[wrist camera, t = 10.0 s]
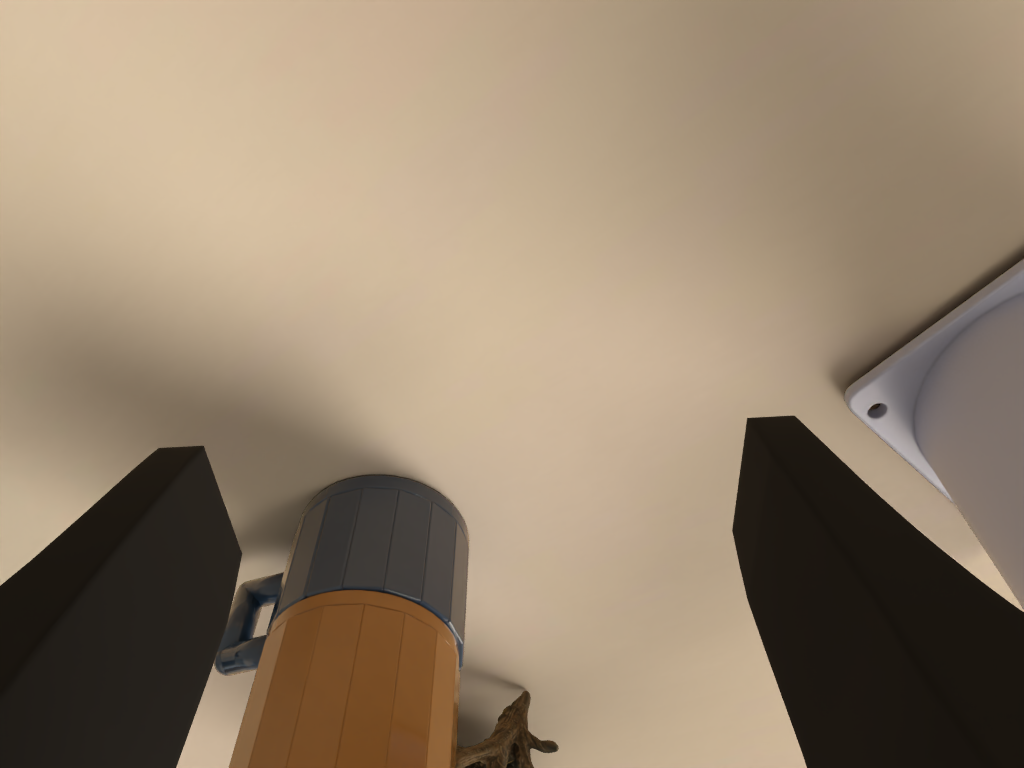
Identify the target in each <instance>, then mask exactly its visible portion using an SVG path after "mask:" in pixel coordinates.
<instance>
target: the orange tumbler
mask: <svg viewBox="0 0 1024 768" xmlns="http://www.w3.org/2000/svg"><path fill="white" fill-rule="evenodd" d="M459 660H460V658H459V648H458V645H457V642H456V640H455V638H454V635H453V634H452V632H451V631H450V629H449V628H448V626H447V625H446V624H445V623H444V622H443V621H442V620H441V619H440V618H439V617H437V616H436V615H435V614H434V613H432V612H431V611H429V610H428V609H426V608H424V607H423V606H421V605H419V604H417V603H415V602H412V601H410V600H407V599H405V598H402V597H399V596H395V595H392V594H388V593H383V592H377V591H369V590H339V591H331V592H326V593H321V594H317V595H314V596H311V597H308V598H306V599H303V600H301V601H299V602H297V603H295V604H293V605H292V606H290V607H289V608H287V609H286V610H285V611H284V612H282V613H281V614H280V615H279V616H278V618H277V619H276V620H275V621H274V622H273V624H272V626H271V627H270V629H269V632H268V634H267V638H266V640H265V644H264V647H263V651H262V654H261V658H260V661H259V665H258V668H257V671H256V675H255V678H254V682H253V685H252V689H251V692H250V696H249V699H248V703H247V706H246V709H245V713H244V716H243V720H242V723H241V727H240V730H239V734H238V737H237V741H236V744H235V748H234V751H233V754H232V758H231V761H230V765H229V768H455V765H456V746H457V726H458V707H459V688H460V674H459Z"/></svg>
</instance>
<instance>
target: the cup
mask: <svg viewBox="0 0 1024 768" xmlns="http://www.w3.org/2000/svg"><path fill="white" fill-rule="evenodd" d="M468 556H469V534H468V530H467V526H466V524H465V521H464V519H463V517H462V516H461V514H460V513H459V511H458V510H457V509H456V507H455V506H454V505H453V504H452V503H451V502H450V501H449V500H448V499H447V498H446V497H444V496H443V495H441V494H440V493H439V492H437V491H435V490H434V489H432V488H430V487H428V486H426V485H423V484H421V483H419V482H416V481H413V480H409V479H406V478H401V477H396V476H387V475H368V476H359V477H354V478H350V479H346V480H343V481H340V482H338V483H336V484H333V485H331V486H329V487H328V488H326V489H325V490H323V491H321V492H320V493H319V494H318V495H317V496H316V497H314V498H313V499H312V501H311V502H310V503H309V504H308V505H307V507H306V509H305V510H304V512H303V515H302V517H301V520H300V523H299V527H298V530H297V532H296V534H295V537H294V540H293V543H292V547H291V550H290V554H289V557H288V561H287V564H286V568H285V571H284V572H283V573H279V574H275V575H271V576H267V577H263V578H259V579H254V580H250V581H247V582H244V583H243V584H242V585H240V586H239V588H238V589H237V592H236V595H235V598H234V601H233V604H232V607H231V610H230V614H229V618H228V623H227V626H226V629H225V632H224V635H223V638H222V641H221V643H220V646H219V649H218V652H217V655H216V658H215V660H214V667H215V669H216V670H217V671H218V672H219V673H220V674H222V675H225V676H230V675H235V674H240V673H244V672H249V671H253V670H257V668H258V665H259V661H260V658H261V654H262V651H263V647H264V644H265V640H266V638H267V635H264V636H260V637H256V638H253V635H254V632H255V629H256V626H257V622H258V619H259V616H260V612H261V609H262V607H265V606H269V605H273V604H275V605H274V609H273V612H272V616H271V619H270V623H269V626H268V630H267V634H268V632H269V629H270V627H271V626H272V624H273V622H274V621H275V620H276V619H277V618H278V616H279V615H280V614H281V613H282V612H284V611H285V610H286V609H287V608H289V607H290V606H292V605H293V604H295V603H297V602H299V601H301V600H303V599H306V598H308V597H311V596H314V595H317V594H321V593H326V592H331V591H339V590H369V591H377V592H383V593H388V594H392V595H395V596H399V597H402V598H405V599H407V600H410V601H412V602H415V603H417V604H419V605H421V606H423V607H424V608H426V609H428V610H429V611H431V612H432V613H434V614H435V615H436V616H437V617H439V618H440V619H441V620H442V621H443V622H444V623H445V624H446V625H447V626H448V628H449V629H450V631H451V632H452V634H453V635H454V638H455V640H456V642H457V645H458V648H459V658H460V660H459V671H460V670H461V668H462V666H463V655H464V637H465V617H466V596H467V576H468Z"/></svg>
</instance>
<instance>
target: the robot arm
mask: <svg viewBox="0 0 1024 768" xmlns="http://www.w3.org/2000/svg"><path fill="white" fill-rule="evenodd" d="M844 401H845V402H846V404H847V406H848V408H849V409H850V411H851V412H852V413H853V414H855V415H856V416H857V417H858V418H859V419H860V420H861V421H862V422H863V423H865V424H866V425H867V426H868V427H869V428H870V429H871V430H872V431H873V432H875V433H876V434H877V435H878V436H879V437H880V438H881V439H882V440H883V441H885V442H886V443H887V444H888V445H889V446H890V447H891V448H892V449H893V450H895V451H896V452H897V453H898V454H899V455H900V456H901V457H902V458H904V459H905V460H906V461H907V462H908V463H909V464H910V465H911V466H912V467H914V468H915V469H916V470H917V471H918V472H919V473H920V474H921V475H922V476H924V477H925V478H926V479H927V480H928V481H929V482H930V483H931V484H932V485H934V486H935V487H936V488H937V489H938V490H939V491H940V492H941V493H943V494H944V495H945V496H946V497H947V498H948V499H949V500H950V501H951V502H953V503H954V504H955V505H956V506H957V508H958V509H959V511H960V512H961V514H962V515H963V517H964V519H965V520H966V522H967V523H968V525H969V526H970V528H971V529H972V531H973V532H974V534H975V535H976V537H977V539H978V540H979V542H980V543H981V545H982V546H983V548H984V549H985V551H986V552H987V554H988V556H989V557H990V559H991V560H992V562H993V563H994V565H995V566H996V568H997V569H998V571H999V572H1000V574H1001V576H1002V577H1003V579H1004V580H1005V582H1006V583H1007V585H1008V586H1009V588H1010V589H1011V591H1012V592H1013V594H1014V596H1015V597H1016V599H1017V600H1018V602H1019V603H1020V605H1021V606H1022V608H1023V609H1024V259H1022V260H1021V261H1020V262H1018V263H1017V264H1015V265H1014V266H1013V267H1011V268H1010V269H1009V270H1007V271H1006V272H1005V273H1003V274H1002V275H1000V276H999V277H998V278H996V279H995V280H994V281H992V282H991V283H990V284H988V285H987V286H985V287H984V288H983V289H981V290H980V291H979V292H977V293H976V294H975V295H973V296H972V297H970V298H969V299H968V300H966V301H965V302H964V303H962V304H961V305H959V306H958V307H957V308H955V309H954V310H953V311H951V312H950V313H949V314H947V315H946V316H944V317H943V318H942V319H940V320H939V321H938V322H936V323H935V324H934V325H932V326H931V327H929V328H928V329H927V330H925V331H924V332H923V333H921V334H920V335H918V336H917V337H916V338H914V339H913V340H912V341H910V342H909V343H908V344H906V345H905V346H903V347H902V348H901V349H899V350H898V351H897V352H895V353H894V354H893V355H891V356H890V357H888V358H887V359H886V360H884V361H883V362H882V363H880V364H879V365H877V366H876V367H875V368H873V369H872V370H871V371H869V372H868V373H867V374H865V375H864V376H862V377H861V378H860V379H858V380H857V381H856V382H854V383H853V384H852V385H851V386H850V387H849V388H848V389H847V390H846V392H845V394H844ZM880 403H881V405H880V406H879V407H878V408H876V409H873V410H868V409H869V408H870V407H871V406H873V405H875V404H880ZM732 531H733V536H734V541H735V545H736V550H737V555H738V559H739V564H740V569H741V573H742V577H743V582H744V586H745V590H746V595H747V599H748V602H749V605H750V608H751V611H752V614H753V617H754V619H755V622H756V625H757V628H758V631H759V634H760V636H761V639H762V642H763V645H764V648H765V651H766V653H767V656H768V659H769V662H770V665H771V667H772V670H773V673H774V676H775V678H776V681H777V684H778V687H779V690H780V692H781V695H782V698H783V701H784V703H785V706H786V709H787V712H788V715H789V717H790V720H791V723H792V726H793V728H794V731H795V734H796V737H797V740H798V742H799V745H800V748H801V751H802V753H803V756H804V759H805V763H806V766H807V768H1024V612H1022V611H1021V610H1020V609H1018V608H1017V607H1015V606H1014V605H1012V604H1011V603H1010V602H1008V601H1007V600H1006V599H1004V598H1003V597H1002V596H1000V595H999V594H997V593H996V592H995V591H993V590H992V589H991V588H989V587H988V586H987V585H985V584H984V583H983V582H981V581H980V580H979V579H978V578H976V577H975V576H974V575H973V574H971V573H970V572H969V571H968V570H966V569H965V568H964V567H963V566H961V565H960V564H959V563H958V562H956V561H955V560H954V559H953V558H951V557H950V556H949V555H948V554H946V553H945V552H944V551H942V550H941V549H940V548H939V547H937V546H936V545H935V544H934V543H933V542H932V541H930V540H929V539H928V538H927V537H926V536H924V535H923V534H922V533H921V532H920V531H918V530H917V529H916V528H915V527H914V526H913V525H911V524H910V523H909V522H908V521H907V520H906V519H905V518H904V517H902V516H901V515H900V514H899V513H898V512H897V511H896V510H895V509H893V508H892V507H891V506H890V505H889V504H888V503H887V502H885V501H884V500H883V499H882V498H881V497H880V496H879V495H878V494H877V493H876V492H875V491H873V490H872V489H871V488H870V487H869V486H868V485H867V484H866V483H865V482H864V481H863V480H862V479H861V478H860V477H858V476H857V475H856V474H855V473H854V472H853V471H852V470H851V469H850V468H849V467H848V466H847V465H846V464H845V463H844V462H843V461H842V460H840V459H839V458H838V457H837V456H836V455H835V454H834V453H833V452H832V451H831V450H830V449H829V448H828V447H827V446H826V445H825V444H824V443H823V442H822V441H821V440H820V439H819V438H817V437H816V436H815V435H814V434H813V433H812V432H811V431H810V430H809V429H808V428H807V427H806V426H805V425H804V424H803V423H802V422H801V421H800V420H799V419H797V418H796V417H795V416H779V417H759V418H747V424H746V432H745V439H744V447H743V455H742V462H741V470H740V477H739V485H738V492H737V500H736V507H735V515H734V522H733V530H732ZM241 556H242V552H241V549H240V547H239V544H238V541H237V538H236V535H235V533H234V530H233V527H232V524H231V521H230V518H229V516H228V513H227V510H226V507H225V504H224V502H223V499H222V496H221V493H220V490H219V488H218V485H217V482H216V479H215V476H214V473H213V471H212V468H211V465H210V462H209V459H208V457H207V454H206V451H205V448H204V446H191V447H172V448H158V449H157V450H156V451H155V452H154V453H152V454H151V455H150V456H149V457H147V458H146V459H145V460H144V461H143V462H141V463H140V464H139V465H138V466H137V467H136V468H135V469H133V470H132V471H131V472H130V473H129V474H128V475H127V476H125V477H124V478H123V479H122V480H121V481H120V482H119V483H118V484H117V485H115V486H114V487H113V488H112V489H111V490H110V491H109V492H108V493H107V494H105V495H104V496H103V497H102V498H101V499H100V500H99V501H98V502H97V503H95V504H94V505H93V506H92V507H91V508H90V509H89V510H88V511H87V512H86V513H84V514H83V515H82V516H81V517H80V518H79V519H78V520H76V521H75V522H74V523H73V524H72V525H71V526H70V527H69V528H67V529H66V530H65V531H64V532H63V533H62V534H61V535H60V536H58V537H57V538H56V539H55V540H54V541H53V542H52V543H50V544H49V545H48V546H47V547H46V548H45V549H44V550H43V551H41V552H40V553H39V554H38V555H37V556H36V557H35V558H33V559H32V560H31V561H30V562H29V563H27V564H26V565H25V566H24V567H23V568H21V569H20V570H19V571H18V572H17V573H15V574H14V575H13V576H12V577H10V578H9V579H8V580H7V581H6V582H4V583H3V584H2V585H1V586H0V768H176V766H177V763H178V761H179V758H180V755H181V752H182V750H183V747H184V744H185V741H186V739H187V736H188V733H189V730H190V727H191V725H192V722H193V719H194V716H195V714H196V711H197V708H198V705H199V703H200V700H201V697H202V694H203V691H204V689H205V686H206V683H207V680H208V678H209V675H210V672H211V669H212V666H213V663H214V660H215V658H216V655H217V652H218V649H219V646H220V643H221V641H222V638H223V635H224V632H225V629H226V626H227V623H228V618H229V614H230V610H231V605H232V601H233V596H234V592H235V587H236V582H237V577H238V572H239V567H240V562H241Z"/></svg>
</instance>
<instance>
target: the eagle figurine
mask: <svg viewBox="0 0 1024 768" xmlns="http://www.w3.org/2000/svg"><path fill="white" fill-rule="evenodd" d="M530 698H531V697H530V694H529V692H528V691H524V692H523V693H522V694H521V696H520V697H518V698H517V699H516V701H514V702H513V703H512V705H511V706H507V707H506V708H505V709H504V710H503V713H502V714H501V715H500V716H499V718H498V723H497V725H496V727H495V731H494V732H493V734H492V735H491V737H490V738H489V739H485V740H484V742H483V743H480V744H478V745H475V746H471V747H467V748H464V747H461V746H458V745H457V746H456V765H455V768H534V767H533V765H532V762H531V758H530V749H531V748H534V749H537V750H539V751H541V752H543V753H552V752H556V751H558V749H559V748H558V745H557V744H556V743H555V742H553V741H549V740H547V741H541V740H539V739H538V738H537V737H535V736H533V735H532V734H531V733H530V732H529V731H528V720H527V715H528V708H529V705H530Z"/></svg>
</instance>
